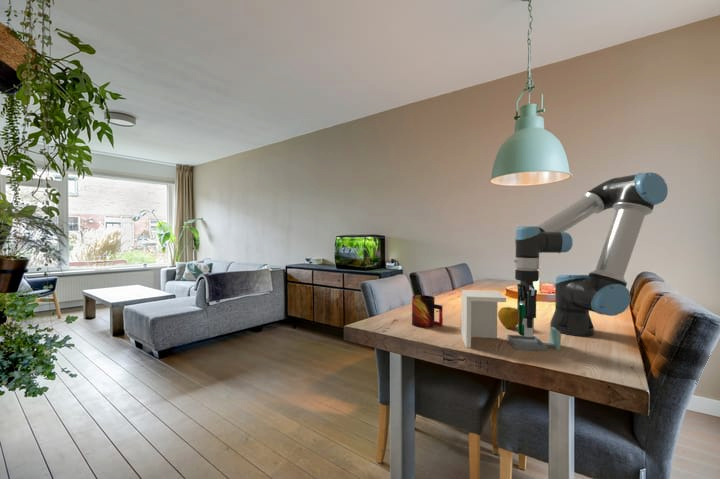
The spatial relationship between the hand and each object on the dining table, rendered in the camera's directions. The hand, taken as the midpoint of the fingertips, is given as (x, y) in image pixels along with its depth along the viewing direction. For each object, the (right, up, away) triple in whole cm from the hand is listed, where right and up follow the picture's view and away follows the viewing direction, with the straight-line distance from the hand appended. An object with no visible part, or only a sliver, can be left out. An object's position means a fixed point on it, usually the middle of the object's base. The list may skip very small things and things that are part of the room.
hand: (525, 333), depth 118 cm
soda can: (0, 0, 0) cm, 0 cm away
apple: (+4, -4, +21) cm, 22 cm away
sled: (+3, -4, 0) cm, 5 cm away
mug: (-30, -4, +25) cm, 39 cm away
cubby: (-15, -4, +3) cm, 15 cm away
